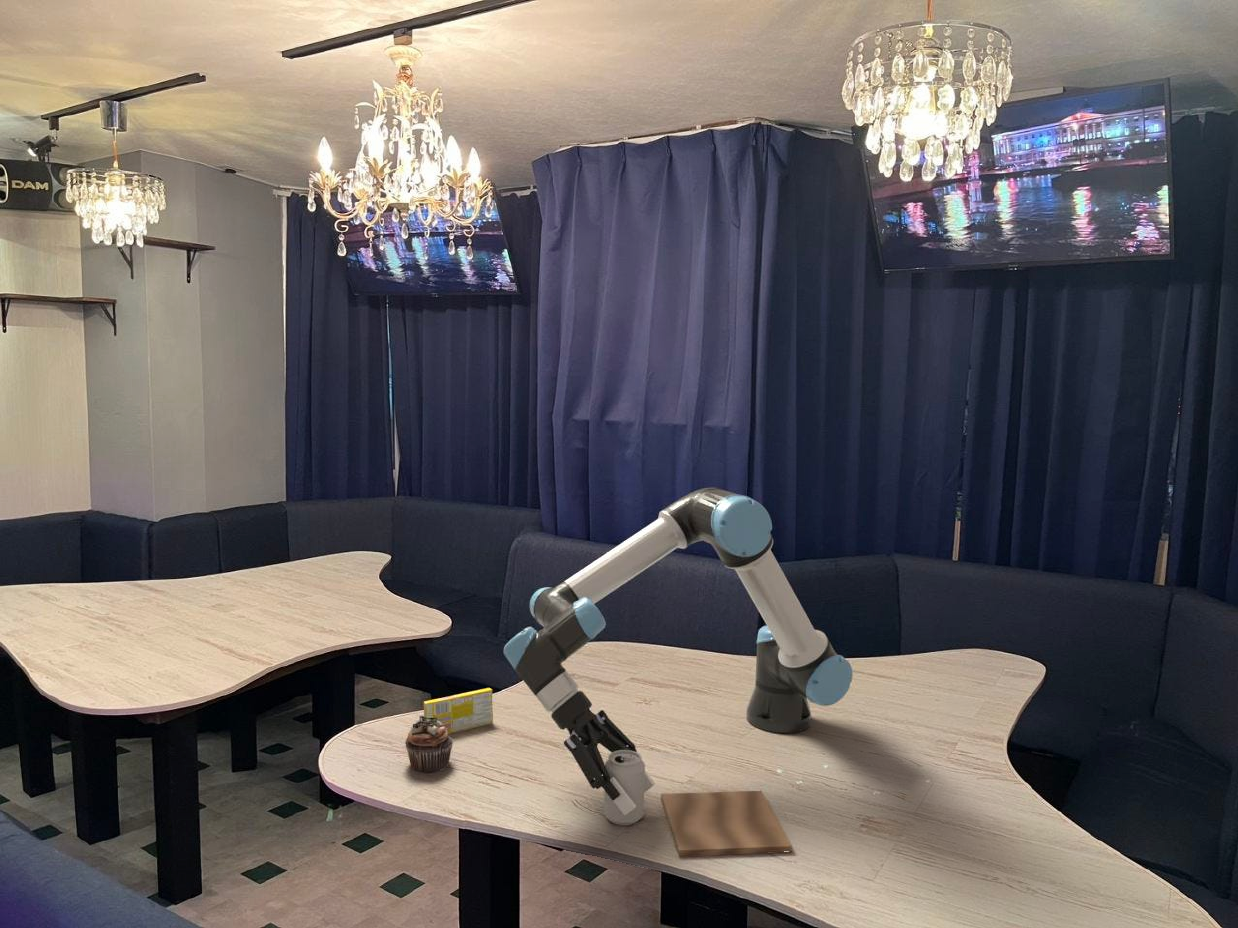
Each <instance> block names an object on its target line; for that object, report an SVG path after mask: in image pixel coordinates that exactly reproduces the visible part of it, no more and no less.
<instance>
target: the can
mask: <svg viewBox="0 0 1238 928" xmlns="http://www.w3.org/2000/svg"><path fill="white" fill-rule="evenodd" d="M642 759H643V757H642V755H641V754H640V753H639V752H638V751H637V752H634V751H630V750H618V751H614V752H610V754H609V755H608V759H607V760H606V761H605V762H604V764H605V766H606V769H607V771H608V773H609V776H610V779H611V778H613V777H614V778H615V779H616V780H617V782H618V783H619V784H620V786H621V787H622V788H623V789H624V791H625V792H626V793H627V795H628V796H629V797H630V799H631V800H632V801H633V802H634V804H635V805H636V807H635V808H634V809H633V810H632V811H630V812H629V813H628V814H626V815H624V814H623V813H622V811H621V810H620V809H619V807H618V806H617V805H616V804H615V802H614V801H613V800H612V799H611V798H610V797H609V796H608V794H607V793H606V792H605V790H604V789H603V791H604V792H603V795H604V796H603V814H604V817H606V818H607V819H608V820H609V821H610V823H612V824H615V825H619V826H630V825H633V824H636V823H637V822H639V820H641V819H642V818H643V816H644V813H645V812H644V809H645V793H644V784H645V771H646V763H645V762H644V761H643V760H642Z"/></svg>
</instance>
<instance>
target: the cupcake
mask: <svg viewBox="0 0 1238 928" xmlns="http://www.w3.org/2000/svg"><path fill="white" fill-rule="evenodd" d="M427 719H429V721H427ZM430 719H431V720H430ZM453 744H454V740H453V738H452V737H450V736H449V734H448V730H447V729H446V728H445V727H444V726H443V725H442V723H441V722H439V721H438V720H437V718H426V717H424V715H421V716H419V717H418V718H417V719H416V722H415V723H413V724H412V725H411V727H410V730H409V732H408V733H407V737H406V740H405V748H406V751H407V755H408V760H409V765H410V767H411V770H413V771H415V772H417V773H422V774H423V773H425V774H432V773H436V772H440V771H442V770H444V769H445V768H447V767H448V766H449V763H450V759H451V754H452V749H453Z"/></svg>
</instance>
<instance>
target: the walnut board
mask: <svg viewBox="0 0 1238 928" xmlns="http://www.w3.org/2000/svg"><path fill="white" fill-rule="evenodd" d="M660 802H661V804H662V808H663V810H664V814H665V818H666V821H667V823H668V827H669V830H670V833H671V836H672V839H673V843H674V846H675V849H676V852H677V855H678V857H679V858H685V857H687V858H688V857H706V856H707V857H709V856H710V857H711V856H712V857H714V856H727V855H728V856H731V855H733V856H735V855H757V854H758V853H764V854H771V853H770V852H784V851H791V852H792V848H793V847H792V844H791V842H790V841H789V839H788V836H787V834H786V833H785V831H784V830H783V827H782V826H781V824H780V822H779V820H778V819H777V816H776V815H775V813H774V811H773V810H772V809H773V808H772V807H771V806H770V804H769V802H768V800H767V798H766V796H765V794H764V793H763V791H762V790H744V791H743V790H742V791H741V790H740V791H738V790H737V791H712V792H710V791H706V792H685V793H684V792H681V793H680V792H679V793H676V792H675V793H674V792H673V793H661V794H660ZM768 852H769V853H768ZM758 855H759V854H758Z"/></svg>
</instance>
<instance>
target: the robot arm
mask: <svg viewBox="0 0 1238 928" xmlns="http://www.w3.org/2000/svg"><path fill="white" fill-rule="evenodd" d="M772 530H773V523H772V519H771V516H770V514H769V512H768V510H767V509H766V508H765V507H764V506H763V505H762V504H761V503H760V502H758V501H756V500H754V499H753V498H751V497H749V496H747V495H744V494H738V493H734V492H730V491H727V490H723V489H721V488H718V487H705V488H700V489H698V490H695V491H693V492H690V493H689V494H686V495H685V496H683V497H681V498H679V499H678V500H676V501H674V502H673V503H671V504H670V505H668V506H667V507H665V508H663V509H662V510H661V511H659V513H658V518H657V519H655V520H654V521H652V522H650V524H648V525H647V526H645V527H643V528H642V529H641V530H639V531H638V532H636V533H635V534H633V535H632V536H630V537H629V538H627V539H626V540H624V541H622V542H621V543H620V544H618V545H617V546H615V547H613V548H612V549H610V550H609V551H608V552H606V553H605V554H603V555H602V556H600V557H598V558H597V559H596V560H594V561H593V562H591V563H589V564H588V565H587V566H585V567H584V568H582V569H581V570H579V571H578V572H575V574H572V576H570V577H569V578H567V579H565V580H564V581H563V582H561V583H560V584H557V586H555V587H547V586H546V587H542V588H539V589H537V590H536V591H535V592H534V593H533V595H532V596H531V597H530V599H529V611H530V613H531V615H532V617H533V618H534V619H535V621H536V622H537V623H538V624H539V625H540V626H542V627H543V628H542V629H540V630H536V629H535V628H534V627H532V626H528V627H525V628H523V629H522V631H520V632H519V633H517V634H515V636H514V637H512V638H511V639H510V640H509V641H508V642H507V643H506V644H505V645H504V647H503V654H504V656H505V658H506V660H507V661H508V662H509V663H510V665H511V666H512V668H513V670H514V671H515V672H516V673H517V674H518V676H519V677H520V679H521V680H522V681H523V682H524V684H526V686H527V687H528V688H529V690H530V691H531V692H532V693H533V695H534V696H535V697H536V698H537V699H538V701H539V703H541V705H542V706H543V708H544V709H545V710H546V712H548V713H549V712H551V714H550V715H551V719H552V720H553V721H554V723H555V724H556V725H557V727H558V728H559V729H560V730H567V731H568V733H569V737H567V738H566V739H565V740H564V741H563V745H564V746H565V747H566V749H568V751H569V752H570V753H571V755H572V756H573V758H574V760H575V762H576V763H577V765H578V767H579V768H580V770H581V772H582V774H583V775H584V777H585V779H586V780H587V782H588V784H589V785H590V787H591V789H596V790H598V789H600V788H602V789H603V791H604V790H605V792H606V793H607V794H608V796H609V797H610V798H611V799H612V800H613V801H614V802H615V804H616V805H617V806H618V807H619V809H620V810H621V811H622V813H623V814H624V815H626V814H628V813H629V812H630V811H632V810H633V809H634V808H635V807H636V805H635V804H634V802H633V801H632V800H631V799H630V797H629V796H628V795H627V793H626V792H625V791H624V789H623V788H622V787H621V786H620V784H619V783H618V782H617V780H616V779H615V778H614V777H613V778H611V779H610V776H609V773H608V771H607V769H606V766H605V762H604V760H603V758H602V755H601V752H600V750H599V747H598V745H599V744H600V745H601V746H602V747H603V748H605V749H607V751H609V752H610V753H612V752H614V751H618V750H630V751H634V752H637V753H638V750H637V748H636V745H635V743H634V742H632V741H631V739H630V738H628V737H627V736H626V735H625V733H624V732H623V731H622V730H621V729H620V728H619V727H618V726H617V725H616V723H614V722H613V720H611V719H610V717H608V715H607V713H606V712H605V710H603V709H601V710H600V711H598V712H597V713H596V714H595V713H594V712H593V711H592V710H591V709H590V708H591V707H592V705H593V704H592V702H591V700H590V699H589V698H588V696H587V695H586V694H585V692H583V690H578V689H579V685H578V683H577V682H576V681H575V680H574V679H573V677H572V676H571V674H570V673H569V672H568V671H567V670H566V668H565V667H564V666H563V662H565V661H566V660H567V659H569V657H571V656H572V655H574V654H575V653H576V652H578V651H579V650H580V649H581V648H583V647H584V646H586V644H588V643H589V642H590V641H593V640H594V639H595V638H596V637H597V636H598V635H599V634H600V633H601V632H602V631H603V630H604V629H605V628H606V623H607V622H606V620H605V617H604V616H603V614H602V613H601V611H600V610H599V608H598V606H597V605H596V603H597V602H599V601H601V600H602V599H604V598H605V597H606V596H608V595H610V594H611V593H612V592H614V591H616V590H617V589H618V588H620V587H621V586H622V585H624V584H626V583H628V581H631V580H632V579H634V578H635V577H636V576H638V575H639V574H641V573H642V572H644V571H646V569H649V567H651V566H653V565H654V564H655V563H656V564H657V562H658V561H660V560H662V559H663V558H664V557H666V556H668V555H669V554H671V553H672V552H673V551H675V550H676V549H683V550H684V549H686V548H688V547H689V546H691V545H693V544H694V543H697V542H701V541H703V542H705V543H708V544H710V545H711V546H712V547H713V549H714V550H715V552H716V553H717V555H718V557H719V559H720V560H721V562H722V564H723V565H724V567H726V568H727V569H732V570H735V573H736V574H737V575H738V578H739V579H740V581H741V583H742V584H743V586H744V588H745V589H746V592H747V593H748V595H749V596H750V598H751V600H752V602H753V603H754V605H755V607H756V609H757V611H758V612H759V613H760V616H761V618H762V619H763V621H764V622H765V624H766V625H763V626H762V627H761V628H759V629H758V633H757V639H756V641H755V642H756V657H755V658H756V661H755V662H756V664H755V684H754V685H755V686H754V689H753V690H752V691H753V692H752V694H751V697H750V699H749V701H748V704H747V706H746V707H747V708H746V720H747V721H748V723H749V724H751V725H752V726H753V727H756V728H757V729H759V730H760V729H761V730H763V731H767V732H773V733H778V734H779V733H781V734H792V732H793V733H798V731H799V732H802V731H801V730H803V731H805V730H807V729H808V728H809V727H810V726H811V725H810V724H812V712H811V709H810V704H809V702H811V703H813V704H816V705H817V706H822V707H823V706H824V707H826V706H833V705H834V704H836V703H838V702H839V701H841V700H842V699H843V698H844V697H845V695H846V694H847V693H848V691H849V689H850V687H851V683H852V681H853V675H854V674H853V668H852V665H851V664H850V662H849V661H848V660H847V659H846V658H845V657H844V656H843V655H841V654H838V653H837V652H836V651H835V649H834V648H833V646H832V644H831V642H830V640H829V639H828V637H827V636H826V634H825V632H823V631H822V630H819V629H815V628H814V626H813V624H812V623H811V621H810V619H809V617H808V615H807V613H806V611H805V610H804V608H803V606H802V604H801V603H800V600H799V599H798V597H797V595H796V594H795V592H794V590H793V587H792V586H791V584H790V583H789V581H788V579H787V577H786V575H785V573H784V571H783V570H782V568H781V566H780V565H779V562H778V560H777V559H776V557H775V555H774V553H773V552H772V550H771V549H772V547H773V545H774V539H773V537H772V534H771V533H772V532H771V531H772ZM807 727H808V728H807ZM806 728H807V729H806ZM804 729H805V730H804ZM655 785H656V783H655V782H654V780H653V779H652V777H651V776H650V775H649V774H648V773H647V771H646V770H645V784H644V794H645V793H646V792H648V791H649V790H650V789H652V787H654V786H655Z"/></svg>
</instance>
